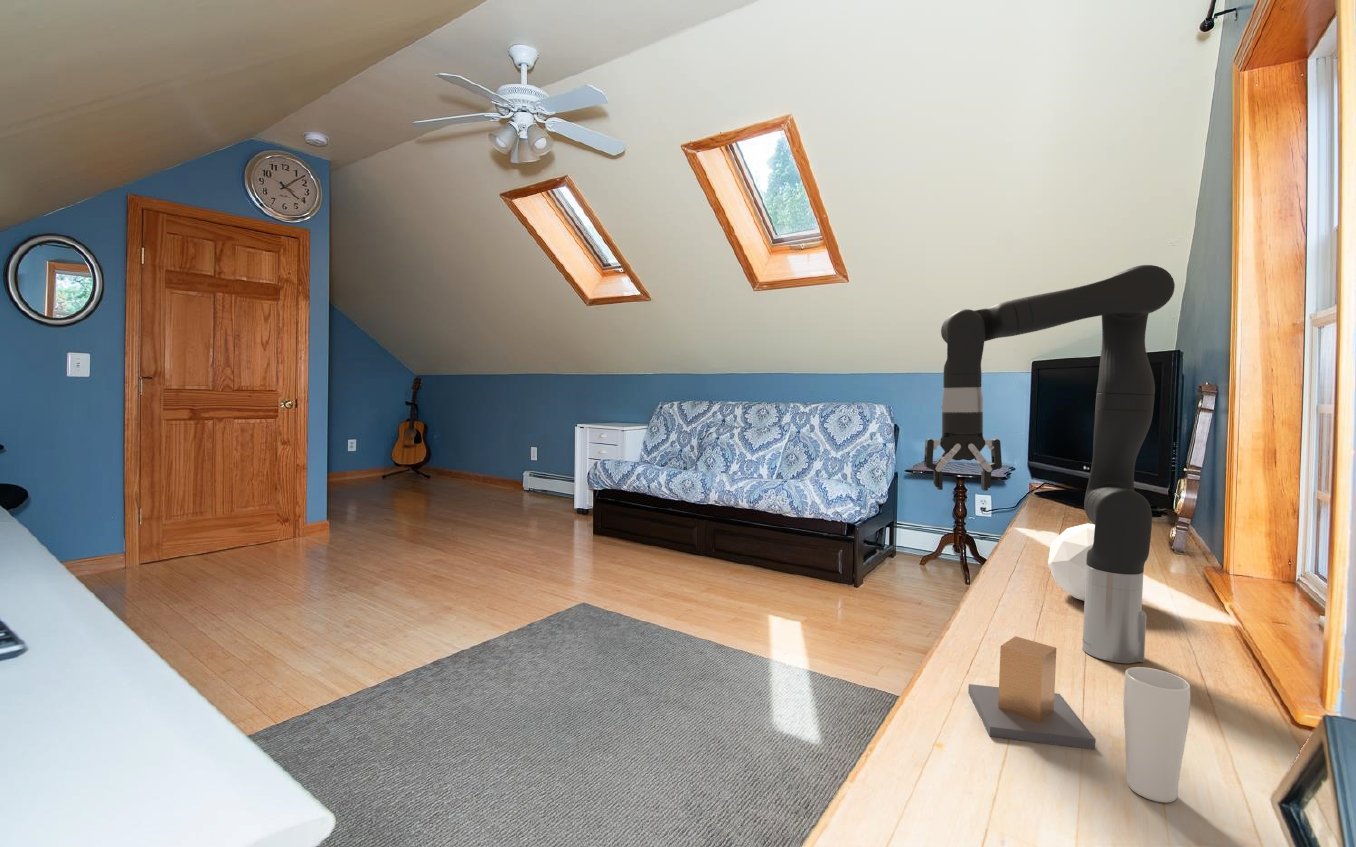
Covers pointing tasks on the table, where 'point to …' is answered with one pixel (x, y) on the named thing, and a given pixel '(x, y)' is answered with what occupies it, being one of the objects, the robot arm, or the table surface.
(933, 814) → the table surface
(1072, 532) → the geometric orb
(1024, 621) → the table surface
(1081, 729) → the post base
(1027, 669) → the wooden block
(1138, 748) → the drinking glass
